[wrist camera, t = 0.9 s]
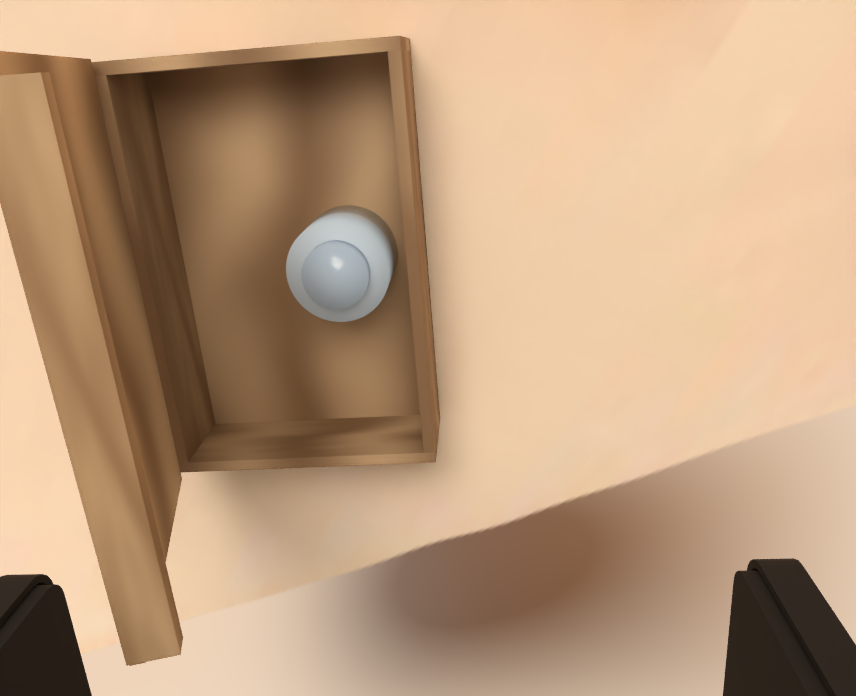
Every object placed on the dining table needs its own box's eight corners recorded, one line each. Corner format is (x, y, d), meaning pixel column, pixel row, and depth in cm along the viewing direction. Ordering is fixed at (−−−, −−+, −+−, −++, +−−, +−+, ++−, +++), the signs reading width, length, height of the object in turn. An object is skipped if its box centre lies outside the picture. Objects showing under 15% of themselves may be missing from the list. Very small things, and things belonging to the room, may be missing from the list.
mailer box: (409, 38, 33) (399, 35, 29) (439, 418, 39) (435, 462, 35) (138, 61, 34) (90, 62, 30) (210, 428, 40) (179, 472, 36)
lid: (33, 44, 18) (-53, 50, 17) (184, 670, 24) (123, 682, 24) (124, 56, 29) (74, 60, 29) (209, 474, 36) (168, 481, 35)
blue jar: (392, 201, 35) (382, 220, 31) (401, 294, 36) (392, 324, 32) (297, 208, 35) (274, 228, 31) (310, 300, 37) (290, 330, 33)
